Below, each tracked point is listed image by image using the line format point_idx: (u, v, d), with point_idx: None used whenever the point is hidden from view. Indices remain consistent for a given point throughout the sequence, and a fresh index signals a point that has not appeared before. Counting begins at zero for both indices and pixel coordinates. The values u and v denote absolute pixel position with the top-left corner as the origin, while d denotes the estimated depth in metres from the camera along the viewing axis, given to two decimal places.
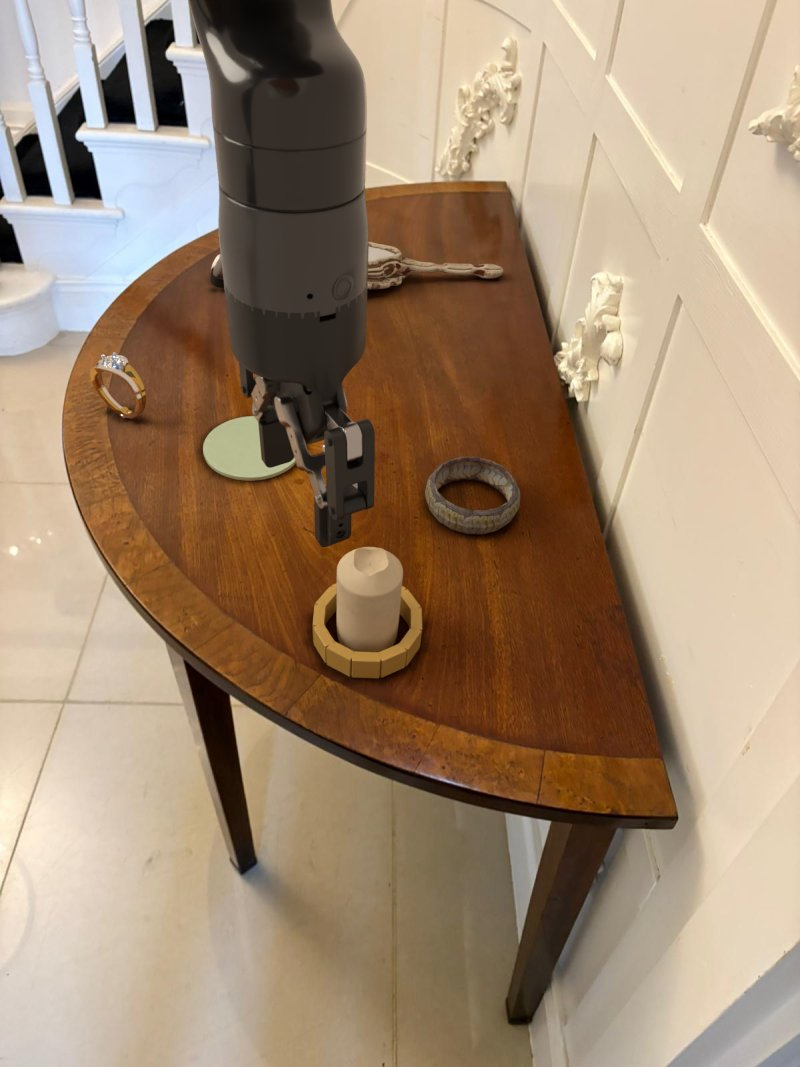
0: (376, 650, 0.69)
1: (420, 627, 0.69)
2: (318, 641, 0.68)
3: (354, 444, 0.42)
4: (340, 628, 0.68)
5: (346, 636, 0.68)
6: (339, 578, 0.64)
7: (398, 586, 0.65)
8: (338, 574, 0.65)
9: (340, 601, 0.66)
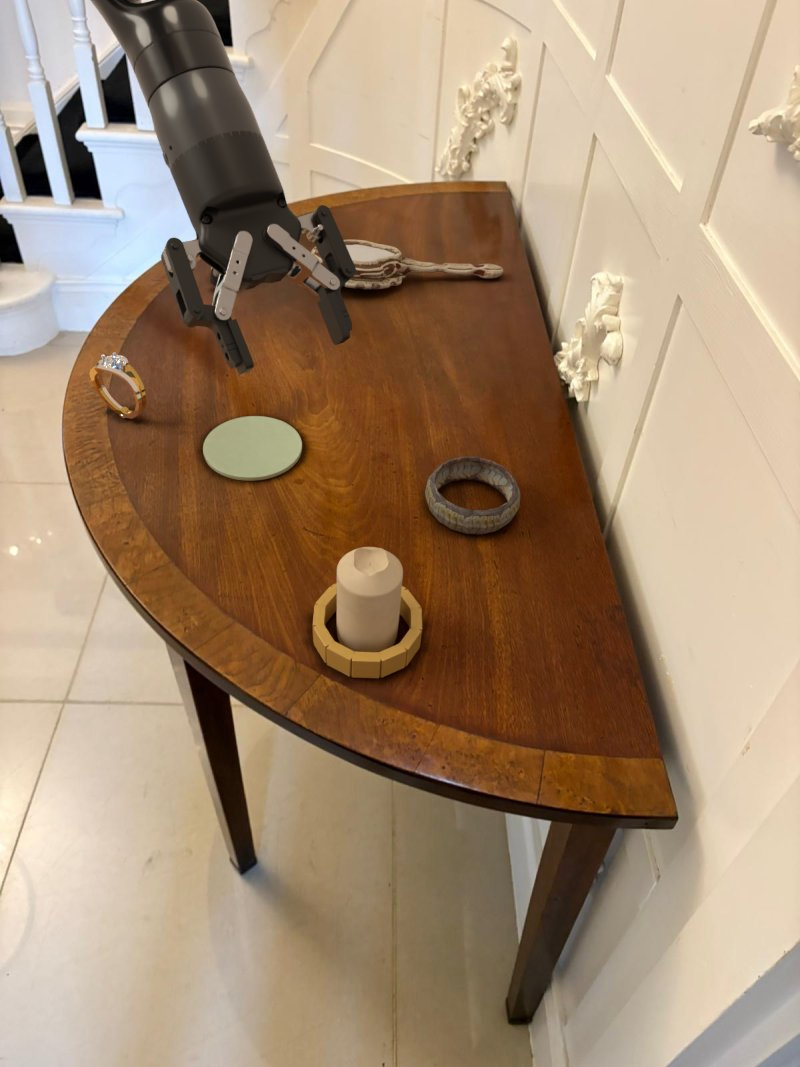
0: (376, 650, 0.69)
1: (420, 627, 0.69)
2: (318, 641, 0.68)
3: None
4: (340, 628, 0.68)
5: (346, 636, 0.68)
6: (339, 578, 0.64)
7: (398, 586, 0.65)
8: (338, 574, 0.65)
9: (340, 601, 0.66)
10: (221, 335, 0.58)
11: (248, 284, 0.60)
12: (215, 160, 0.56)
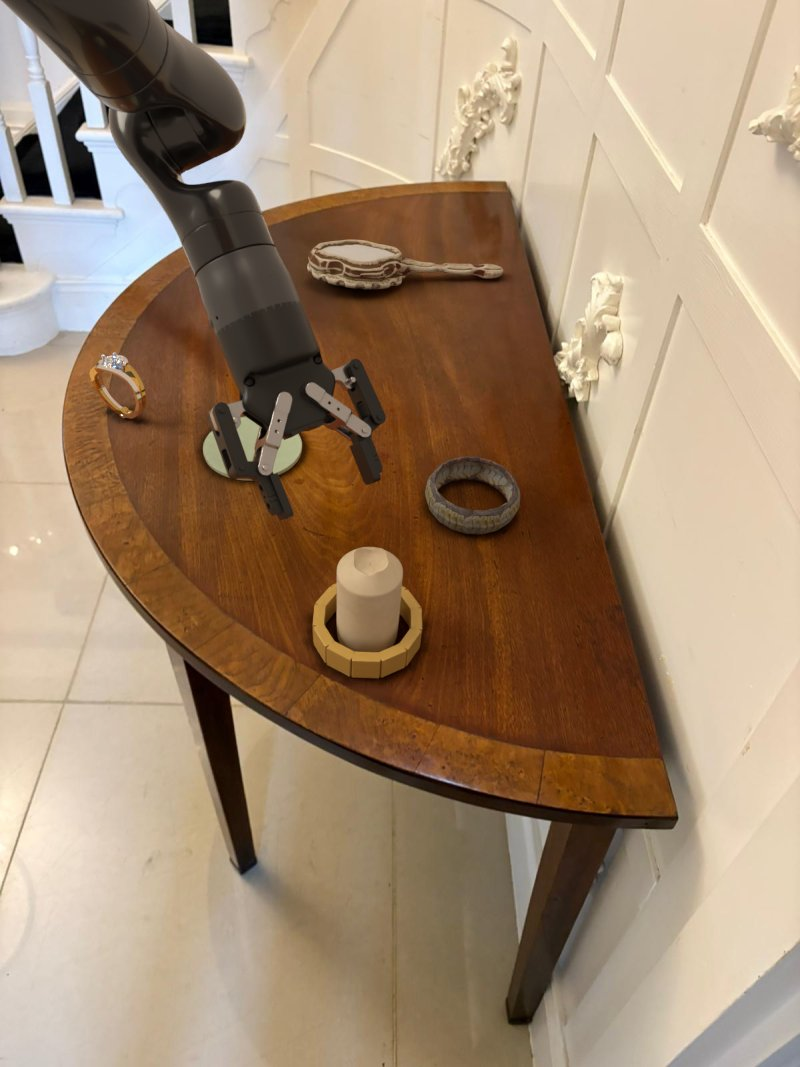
0: (376, 650, 0.69)
1: (420, 627, 0.69)
2: (318, 641, 0.68)
3: None
4: (340, 628, 0.68)
5: (346, 636, 0.68)
6: (339, 578, 0.64)
7: (398, 586, 0.65)
8: (338, 574, 0.65)
9: (340, 601, 0.66)
10: (263, 488, 0.63)
11: (287, 437, 0.65)
12: (259, 332, 0.61)
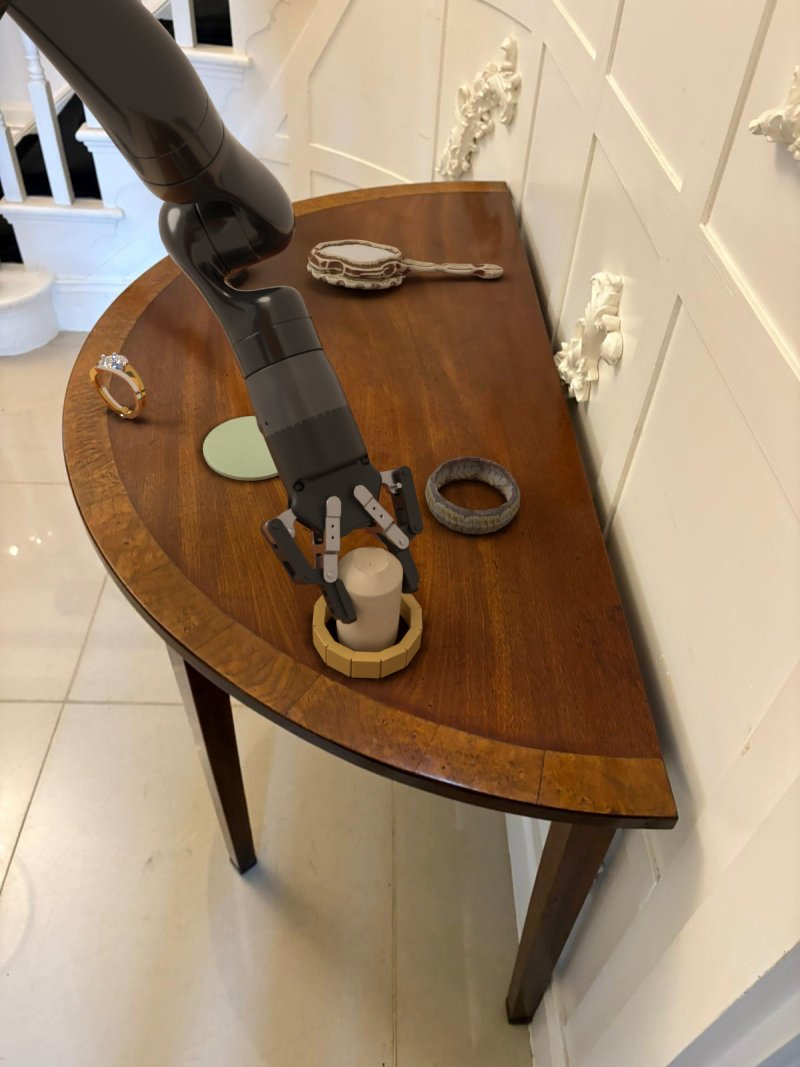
0: (376, 650, 0.69)
1: (420, 627, 0.69)
2: (318, 641, 0.68)
3: None
4: (340, 628, 0.68)
5: (346, 636, 0.68)
6: (339, 578, 0.64)
7: (398, 586, 0.65)
8: (338, 574, 0.65)
9: None
10: (328, 594, 0.64)
11: None
12: (309, 439, 0.61)
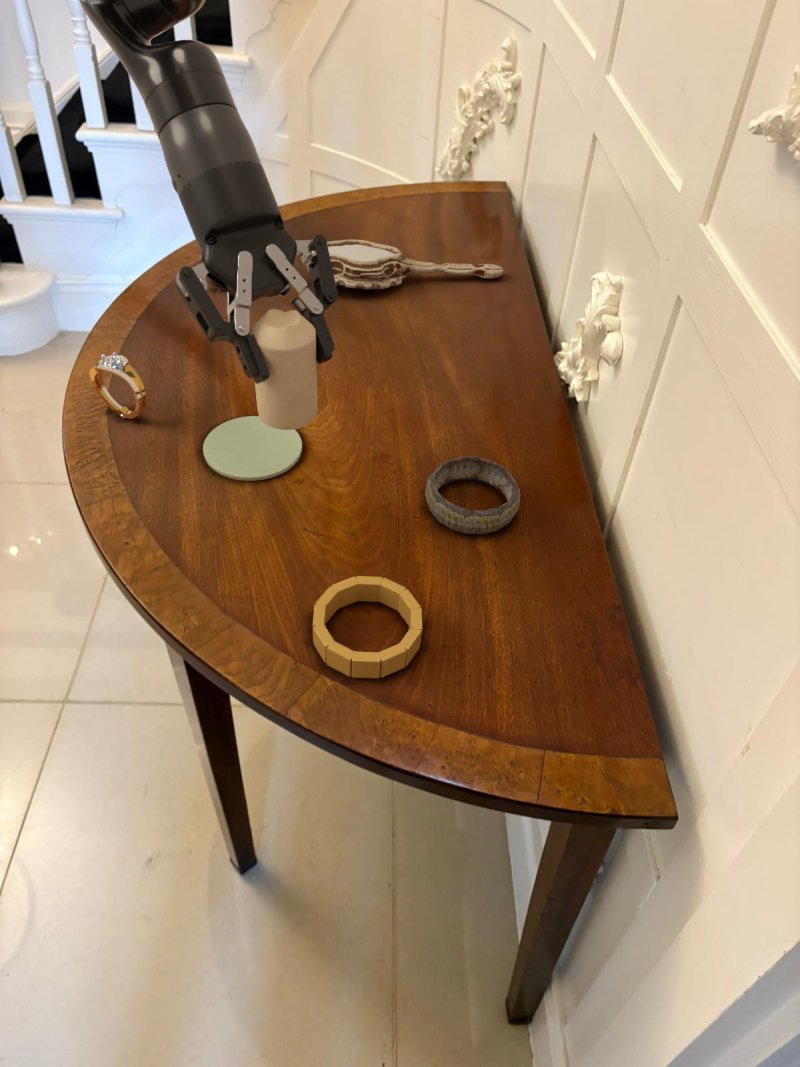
0: (293, 421, 0.71)
1: (420, 627, 0.69)
2: (318, 641, 0.68)
3: None
4: (258, 398, 0.70)
5: (263, 405, 0.70)
6: None
7: (310, 345, 0.66)
8: (251, 333, 0.66)
9: None
10: (240, 349, 0.65)
11: None
12: (219, 188, 0.63)
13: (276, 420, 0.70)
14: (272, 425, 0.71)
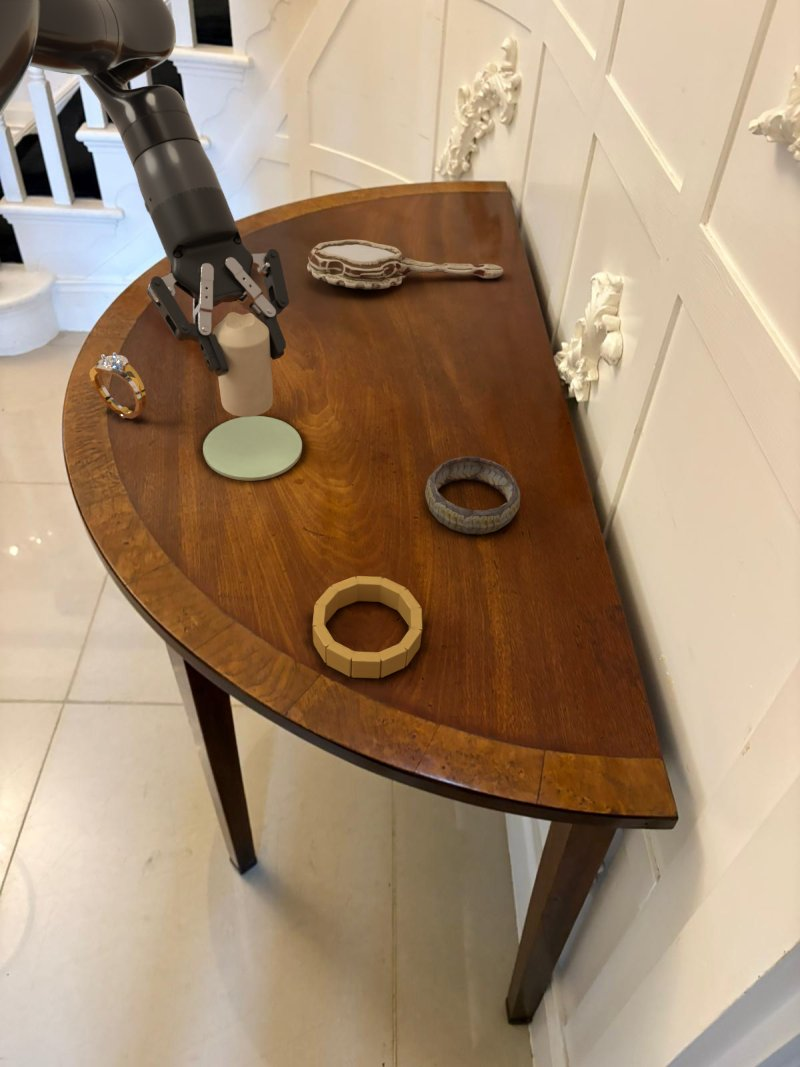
0: (251, 409, 0.82)
1: (420, 627, 0.69)
2: (318, 641, 0.68)
3: None
4: (221, 389, 0.81)
5: (225, 395, 0.81)
6: None
7: (263, 343, 0.78)
8: (213, 333, 0.78)
9: None
10: (203, 346, 0.77)
11: None
12: (184, 210, 0.74)
13: (236, 408, 0.82)
14: (233, 412, 0.82)
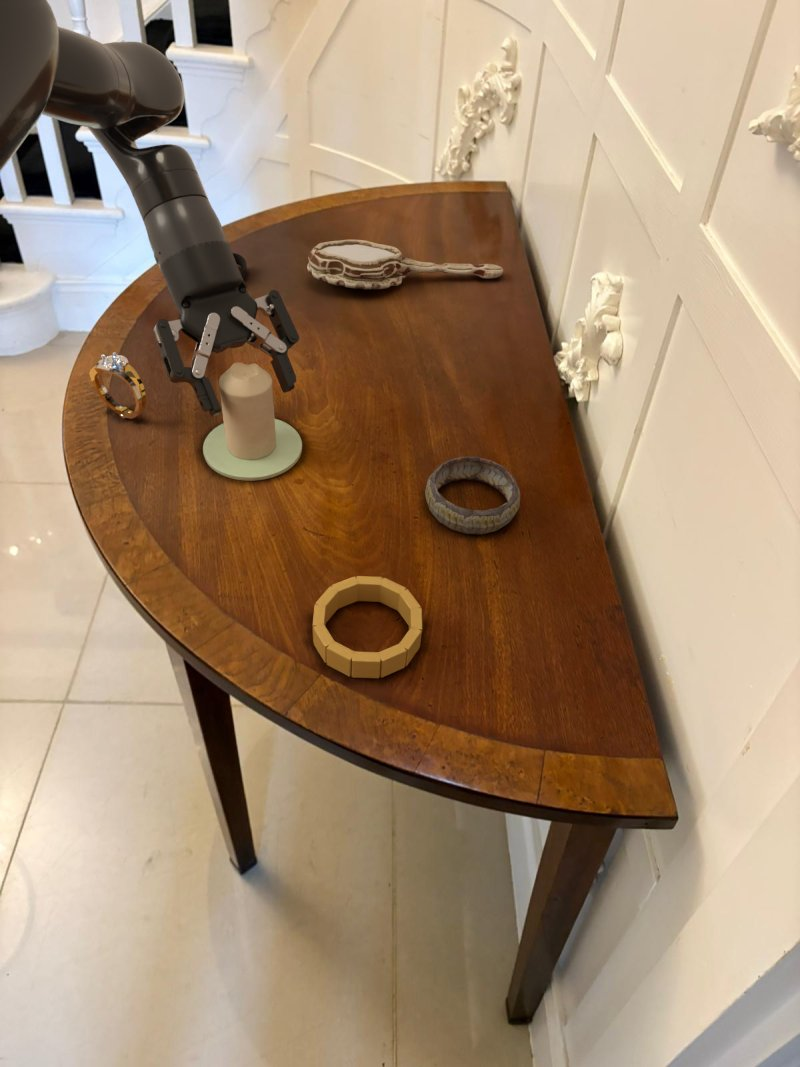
0: (255, 452, 0.86)
1: (420, 627, 0.69)
2: (318, 641, 0.68)
3: None
4: (226, 434, 0.86)
5: (230, 440, 0.85)
6: (220, 385, 0.82)
7: (267, 391, 0.82)
8: (219, 382, 0.82)
9: (223, 406, 0.83)
10: (197, 389, 0.80)
11: (218, 350, 0.81)
12: (192, 263, 0.78)
13: (241, 452, 0.86)
14: (238, 456, 0.86)
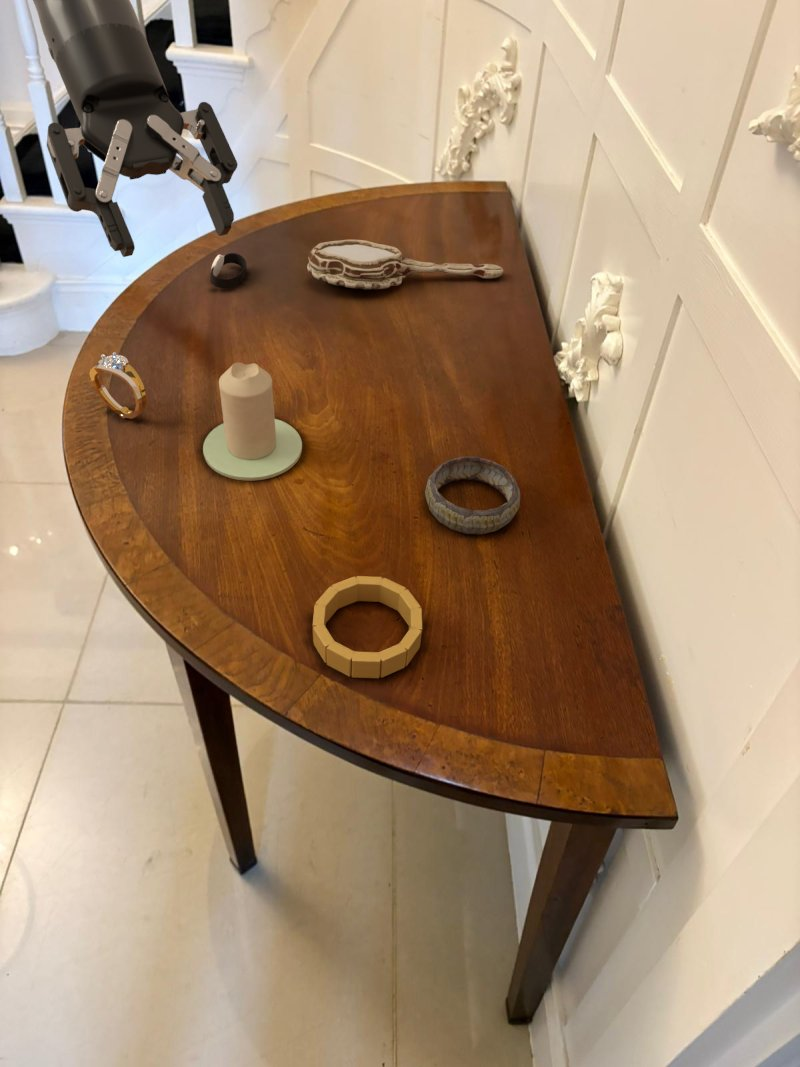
0: (255, 452, 0.86)
1: (420, 627, 0.69)
2: (318, 641, 0.68)
3: None
4: (226, 434, 0.86)
5: (230, 440, 0.85)
6: (220, 385, 0.82)
7: (267, 391, 0.82)
8: (219, 382, 0.82)
9: (223, 406, 0.83)
10: (103, 217, 0.63)
11: (131, 172, 0.64)
12: (93, 50, 0.60)
13: (241, 452, 0.86)
14: (238, 456, 0.86)
